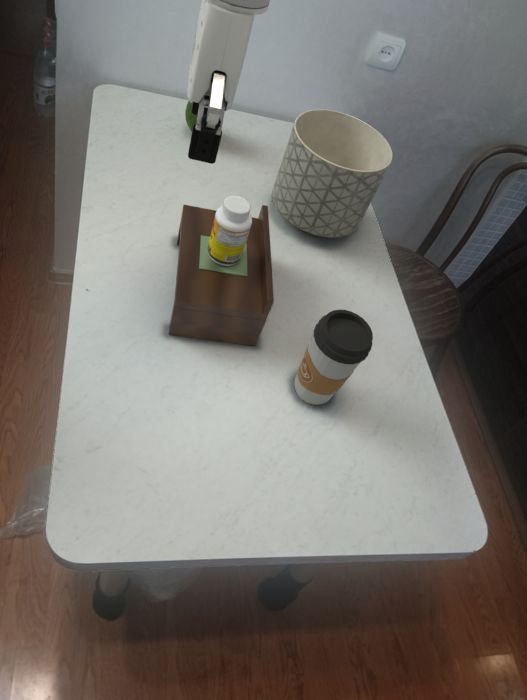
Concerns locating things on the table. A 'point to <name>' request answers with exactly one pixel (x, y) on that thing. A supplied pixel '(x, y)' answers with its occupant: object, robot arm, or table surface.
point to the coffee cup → (332, 355)
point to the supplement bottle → (230, 231)
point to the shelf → (221, 283)
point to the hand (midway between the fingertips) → (202, 136)
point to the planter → (330, 172)
